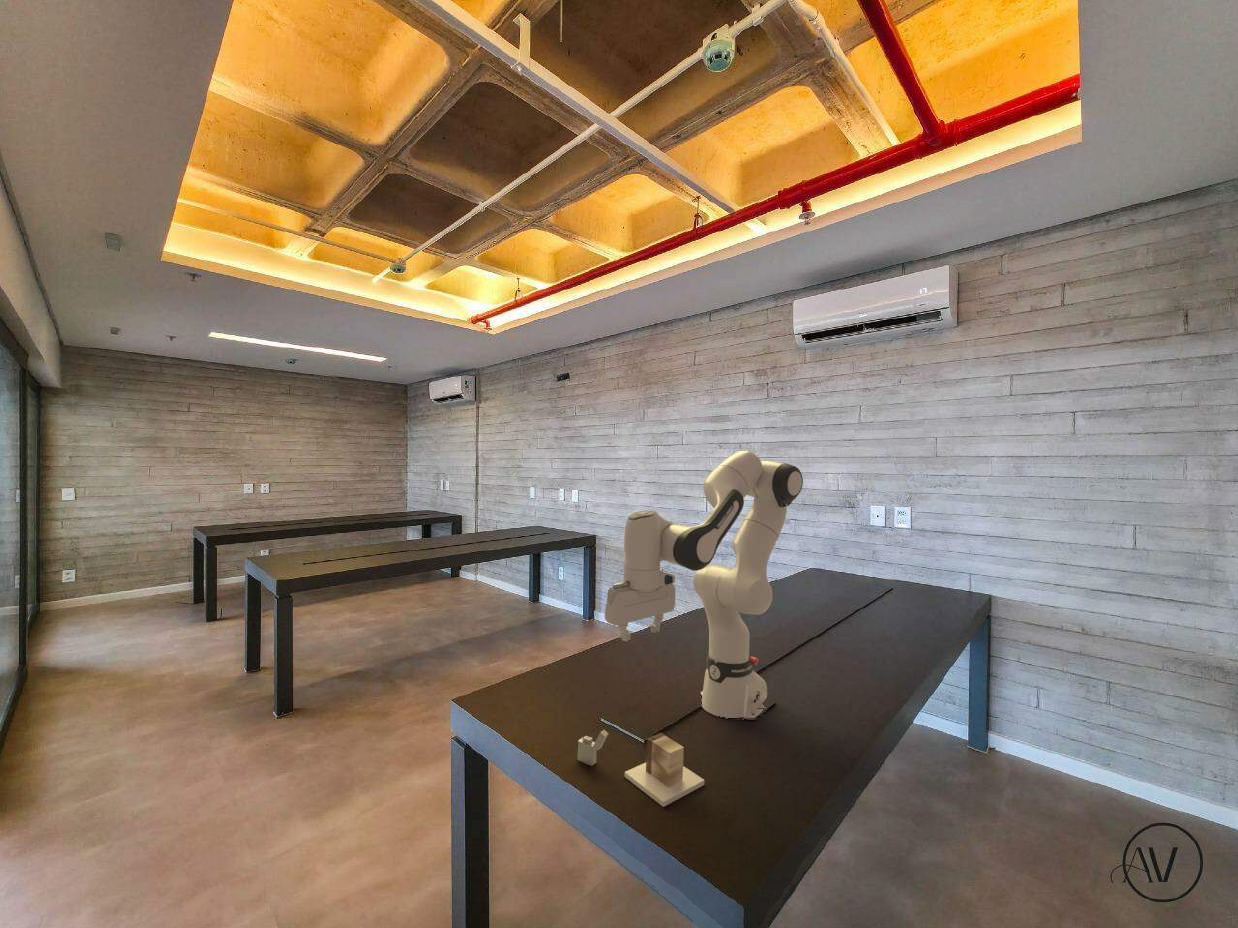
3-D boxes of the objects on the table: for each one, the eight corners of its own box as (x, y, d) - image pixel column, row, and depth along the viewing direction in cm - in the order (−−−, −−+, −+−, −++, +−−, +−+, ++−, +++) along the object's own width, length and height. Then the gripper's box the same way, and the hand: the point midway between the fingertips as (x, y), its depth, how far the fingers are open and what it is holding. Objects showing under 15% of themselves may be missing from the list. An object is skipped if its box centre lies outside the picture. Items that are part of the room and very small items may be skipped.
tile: (664, 758, 117) (664, 753, 117) (704, 784, 107) (704, 779, 107) (624, 776, 109) (624, 771, 109) (663, 806, 100) (663, 801, 100)
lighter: (577, 759, 115) (578, 724, 115) (581, 756, 116) (582, 721, 116) (603, 770, 111) (604, 733, 111) (607, 766, 113) (608, 730, 113)
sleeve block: (682, 780, 107) (684, 746, 107) (668, 787, 104) (669, 753, 104) (659, 764, 112) (661, 732, 113) (645, 770, 110) (647, 738, 110)
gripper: (617, 587, 113) (616, 649, 113) (680, 575, 126) (679, 630, 127) (599, 582, 118) (598, 641, 118) (662, 570, 131) (661, 624, 131)
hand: (640, 635), depth 122 cm, fingers open, 8 cm apart
